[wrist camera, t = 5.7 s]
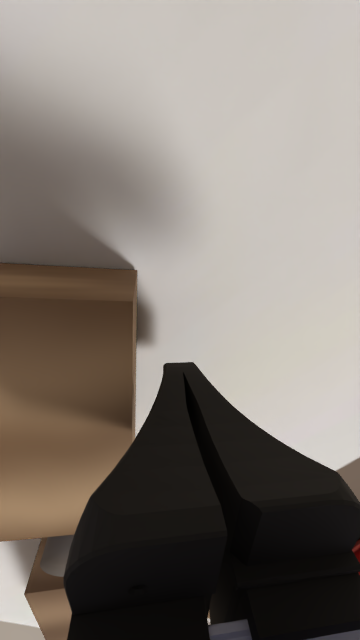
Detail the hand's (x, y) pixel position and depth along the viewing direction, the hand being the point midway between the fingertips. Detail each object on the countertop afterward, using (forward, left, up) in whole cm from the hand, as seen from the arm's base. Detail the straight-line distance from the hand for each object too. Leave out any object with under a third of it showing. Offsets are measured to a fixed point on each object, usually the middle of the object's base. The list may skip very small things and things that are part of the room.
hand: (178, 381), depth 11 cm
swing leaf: (-5, -9, -2) cm, 11 cm away
